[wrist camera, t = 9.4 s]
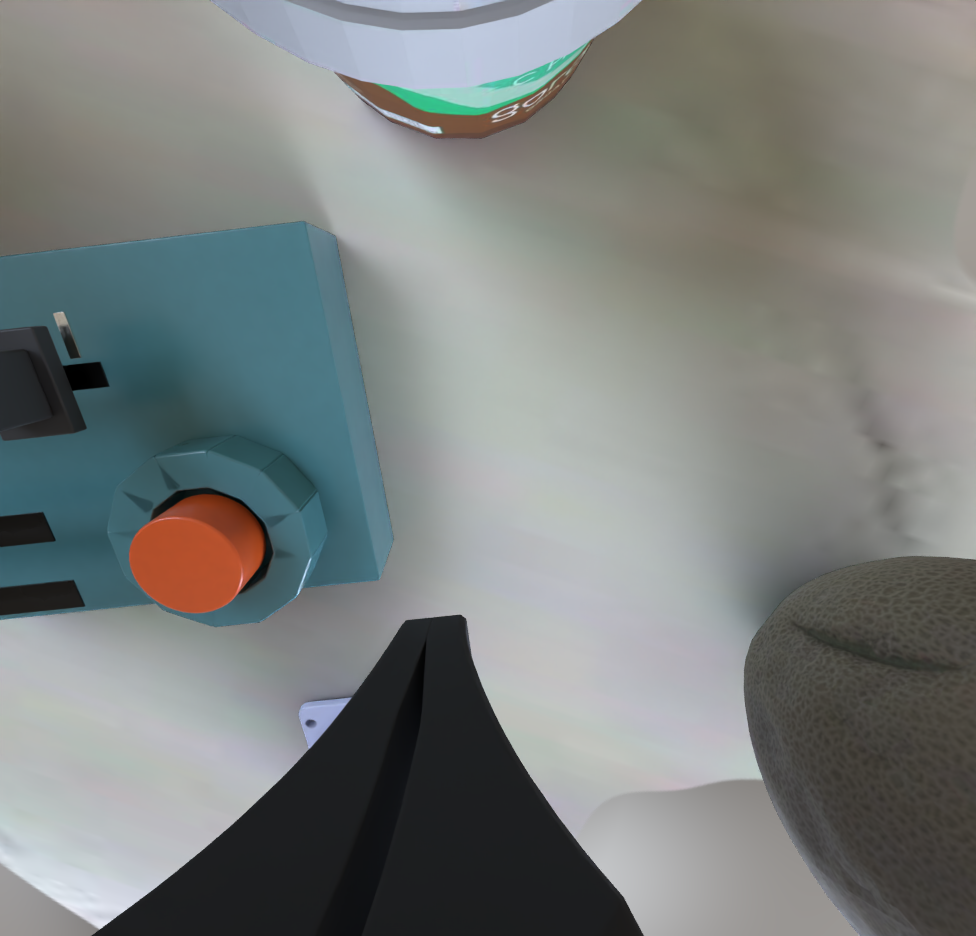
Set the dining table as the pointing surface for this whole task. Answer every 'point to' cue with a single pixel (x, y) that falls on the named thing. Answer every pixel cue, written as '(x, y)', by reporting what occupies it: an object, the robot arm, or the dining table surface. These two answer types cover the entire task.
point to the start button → (198, 553)
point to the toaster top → (35, 524)
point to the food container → (439, 53)
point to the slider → (34, 387)
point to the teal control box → (199, 412)
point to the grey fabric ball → (875, 739)
